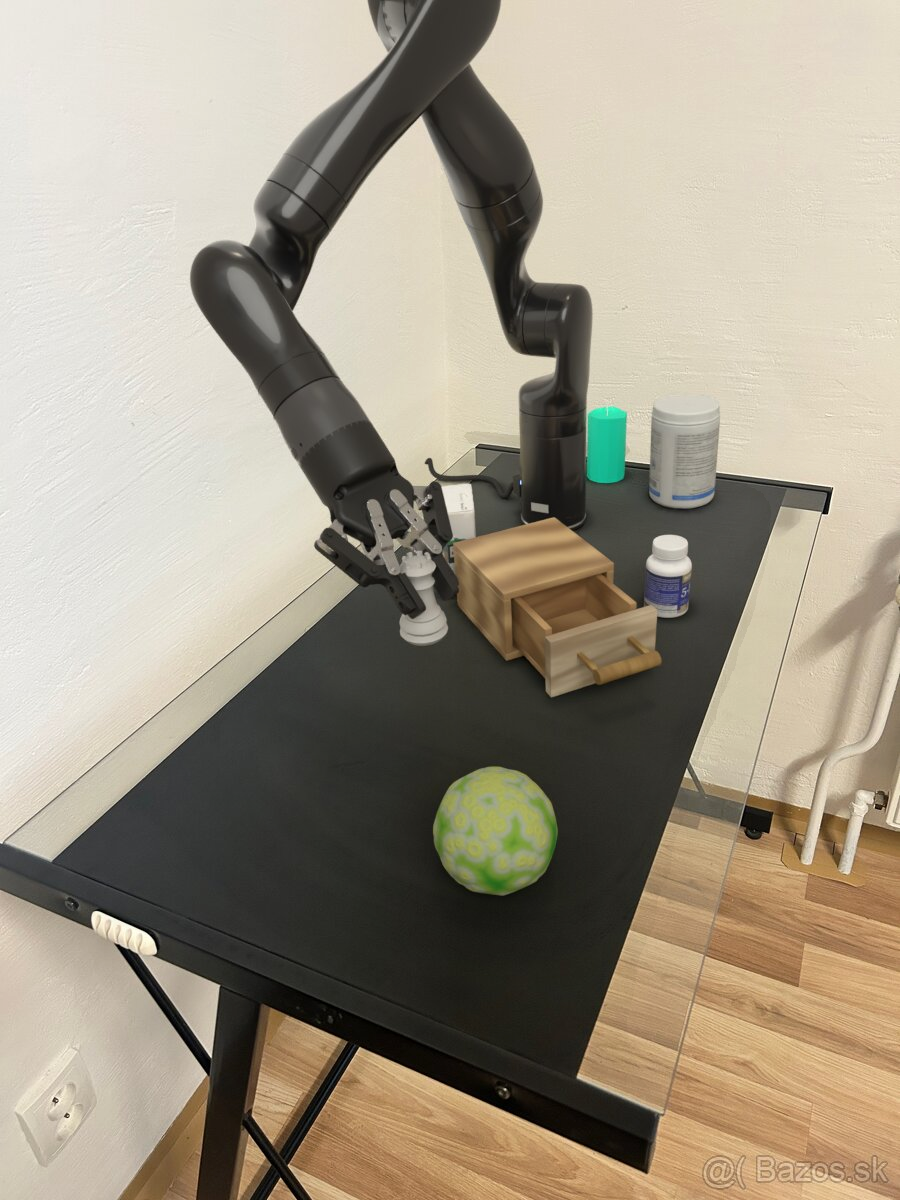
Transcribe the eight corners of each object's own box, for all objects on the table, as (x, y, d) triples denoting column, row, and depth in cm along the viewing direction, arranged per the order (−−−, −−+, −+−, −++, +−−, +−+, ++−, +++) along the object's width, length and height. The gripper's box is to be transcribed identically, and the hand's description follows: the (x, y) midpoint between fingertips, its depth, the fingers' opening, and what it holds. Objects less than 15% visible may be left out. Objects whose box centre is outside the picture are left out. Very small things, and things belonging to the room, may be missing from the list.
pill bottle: (688, 620, 104) (694, 553, 99) (643, 618, 105) (646, 552, 100) (687, 597, 108) (693, 532, 103) (644, 595, 109) (647, 531, 105)
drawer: (682, 688, 91) (686, 632, 87) (575, 725, 87) (575, 668, 84) (593, 610, 105) (594, 559, 102) (498, 638, 101) (495, 587, 98)
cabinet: (612, 628, 103) (614, 562, 99) (506, 661, 99) (503, 593, 94) (554, 578, 114) (554, 516, 110) (457, 605, 110) (452, 542, 106)
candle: (601, 486, 138) (603, 412, 132) (579, 474, 143) (580, 402, 137) (632, 477, 140) (635, 404, 134) (609, 465, 145) (611, 394, 139)
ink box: (439, 564, 120) (432, 484, 114) (475, 561, 120) (471, 481, 114) (441, 596, 112) (434, 512, 106) (480, 593, 112) (475, 509, 106)
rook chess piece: (391, 643, 80) (382, 566, 75) (412, 617, 83) (403, 542, 79) (437, 651, 78) (429, 573, 74) (456, 624, 81) (449, 548, 77)
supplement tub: (723, 492, 133) (732, 397, 126) (699, 516, 127) (707, 417, 119) (663, 480, 138) (668, 388, 131) (636, 503, 132) (641, 408, 124)
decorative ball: (569, 915, 69) (569, 822, 64) (442, 929, 68) (432, 836, 63) (547, 823, 77) (545, 735, 72) (434, 835, 77) (424, 747, 72)
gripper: (279, 445, 72) (390, 624, 70) (410, 398, 79) (513, 558, 78) (256, 488, 78) (358, 653, 76) (380, 440, 86) (474, 589, 84)
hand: (435, 604), depth 77 cm, fingers closed on rook chess piece, 3 cm apart
